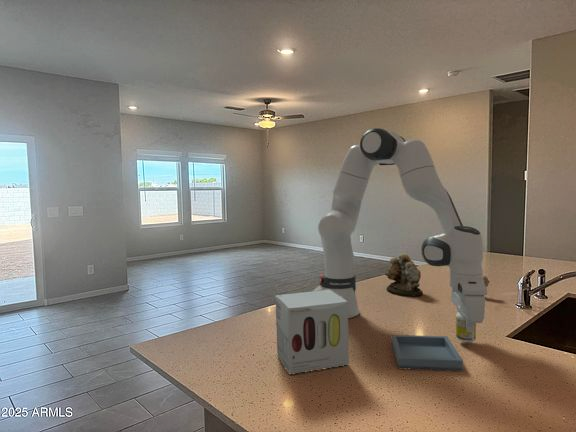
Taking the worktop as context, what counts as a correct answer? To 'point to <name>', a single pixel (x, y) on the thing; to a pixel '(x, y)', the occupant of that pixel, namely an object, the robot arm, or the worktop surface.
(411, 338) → the tray
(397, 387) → the worktop surface
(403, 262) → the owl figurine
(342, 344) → the supplement box
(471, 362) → the worktop surface
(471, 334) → the supplement bottle
